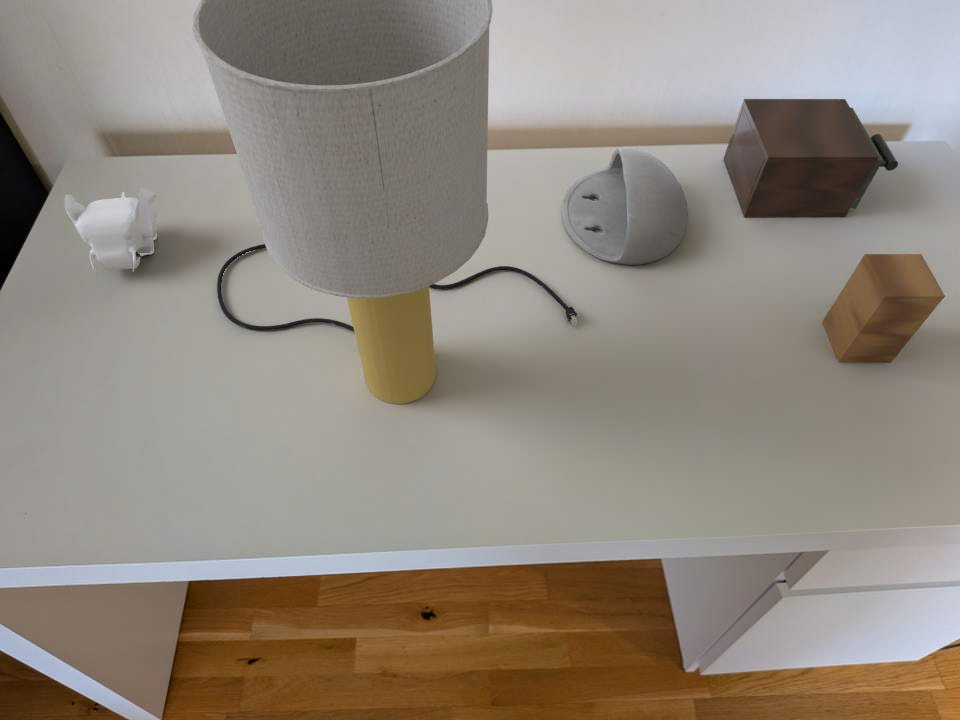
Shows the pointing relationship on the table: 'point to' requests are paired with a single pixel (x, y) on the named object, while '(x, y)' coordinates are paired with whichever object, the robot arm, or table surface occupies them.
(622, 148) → the planter
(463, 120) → the table lamp
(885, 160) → the drawer
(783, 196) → the cabinet
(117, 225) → the elephant figurine
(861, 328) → the stand
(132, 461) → the table surface
